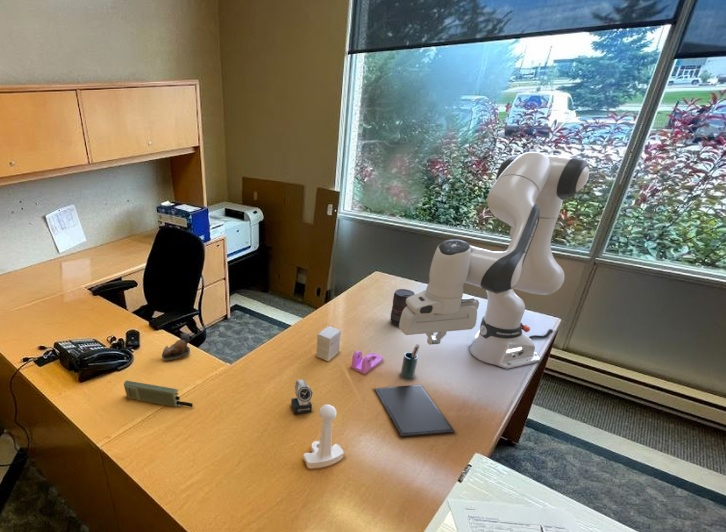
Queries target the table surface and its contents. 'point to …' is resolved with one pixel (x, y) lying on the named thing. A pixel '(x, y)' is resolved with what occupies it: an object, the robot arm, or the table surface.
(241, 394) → the table surface
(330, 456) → the joystick
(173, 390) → the handheld radio
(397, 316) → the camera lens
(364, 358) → the bracket
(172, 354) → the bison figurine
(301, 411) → the watch
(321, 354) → the small box
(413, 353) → the stylus
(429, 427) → the tablet
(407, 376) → the pen cup
